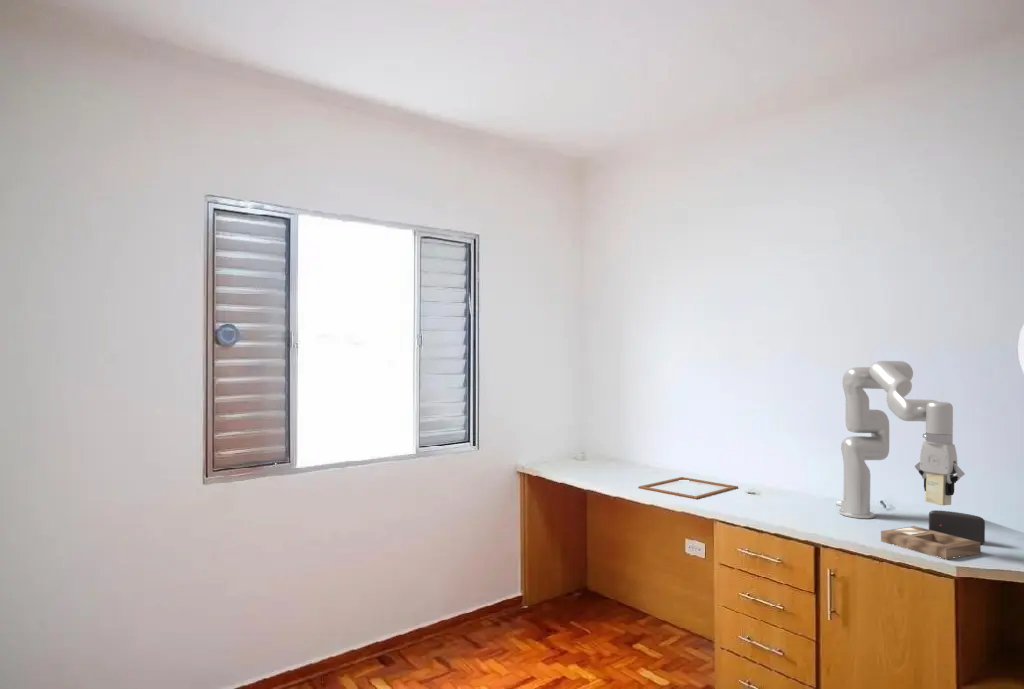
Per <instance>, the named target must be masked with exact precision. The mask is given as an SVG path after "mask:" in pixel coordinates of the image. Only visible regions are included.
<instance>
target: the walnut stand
mask: <svg viewBox="0 0 1024 689" xmlns="http://www.w3.org/2000/svg"><path fill="white" fill-rule="evenodd" d="M882 541H883V543H885V542H886V544H889V543H890V545H892V544H894V545H893V546H896V545H898V546H897V547H899V546H901V547H900V548H903V547H904V549H906V548H908V549H907V550H910V549H911V550H910V551H913V550H915V551H914V552H917V551H919V552H918V553H920V552H923V553H922V554H924V553H926V554H925V555H927V554H930V555H929V556H931V555H934V556H938V557H941V558H945V559H948V560H950V559H949V558H953V557H958V558H962V557H961V556H964V557H967V556H966V555H969V556H973V554H974V555H978V553H979V554H981V549H982V548H981V546H982V544H981V543H980V542H976V541H972V540H968V539H964V538H960V537H956V536H952V535H948V534H944V533H940V532H936V531H932V530H929V528H925V527H924V528H923V527H920V526H916V525H913V526H907V527H906V526H904V527H899V528H893V529H887V530H881V531H880V542H882ZM934 556H933V557H934ZM959 556H960V557H959ZM938 557H937V558H938ZM941 558H940V559H941ZM945 559H944V560H945ZM953 559H954V558H953Z"/></svg>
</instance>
